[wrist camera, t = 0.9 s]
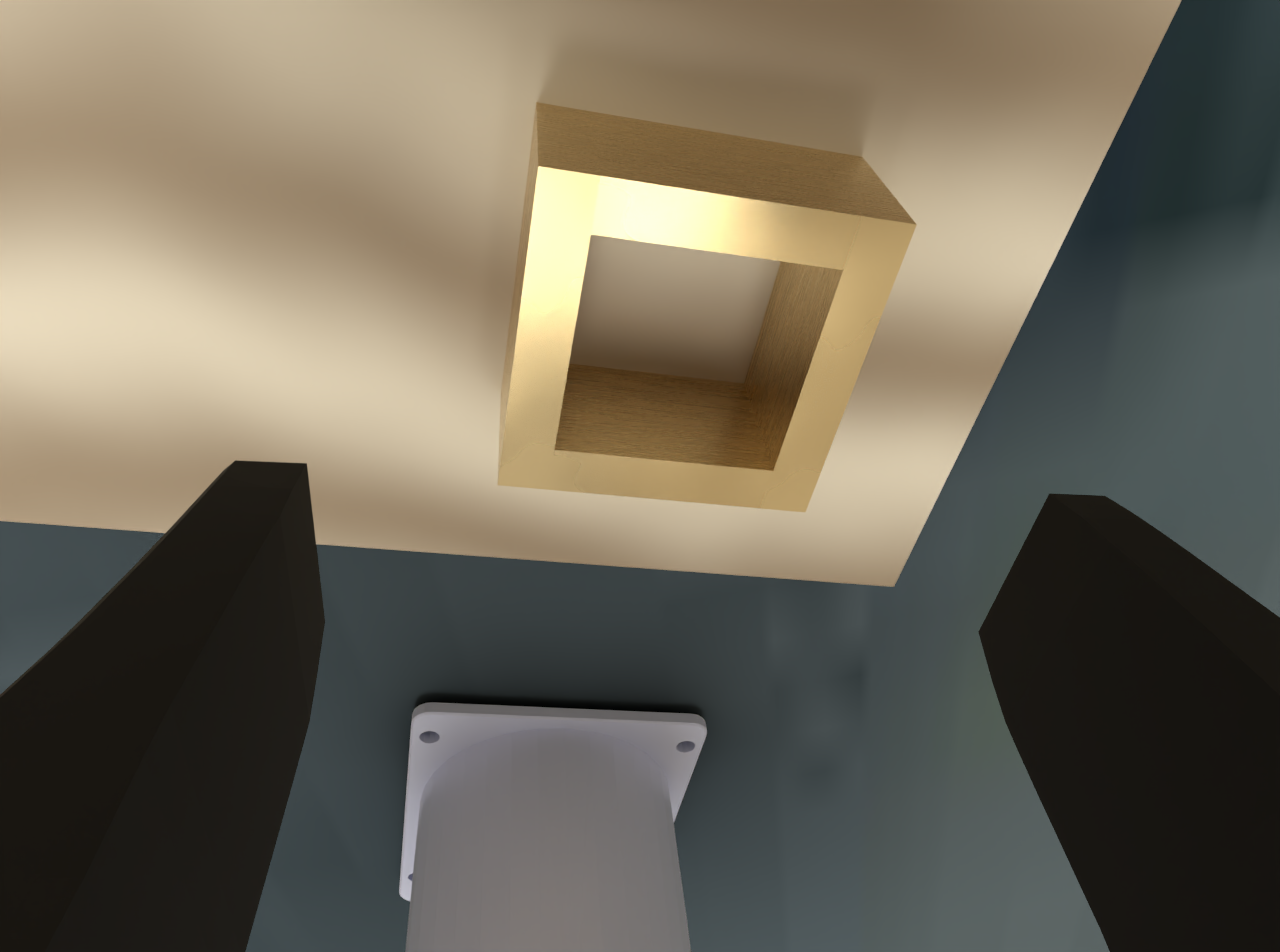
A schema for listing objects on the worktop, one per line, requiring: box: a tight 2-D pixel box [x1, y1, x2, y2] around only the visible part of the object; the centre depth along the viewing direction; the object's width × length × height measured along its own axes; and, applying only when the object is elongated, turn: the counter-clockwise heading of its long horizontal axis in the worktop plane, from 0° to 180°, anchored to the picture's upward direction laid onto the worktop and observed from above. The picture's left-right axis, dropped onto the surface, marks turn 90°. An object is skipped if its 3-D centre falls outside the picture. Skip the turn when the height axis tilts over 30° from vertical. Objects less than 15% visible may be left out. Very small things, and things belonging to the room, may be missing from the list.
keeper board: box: [0, 0, 1181, 587], centre depth 15 cm, size 14×28×4 cm, turn 79°
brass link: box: [497, 102, 917, 512], centre depth 16 cm, size 6×6×3 cm
